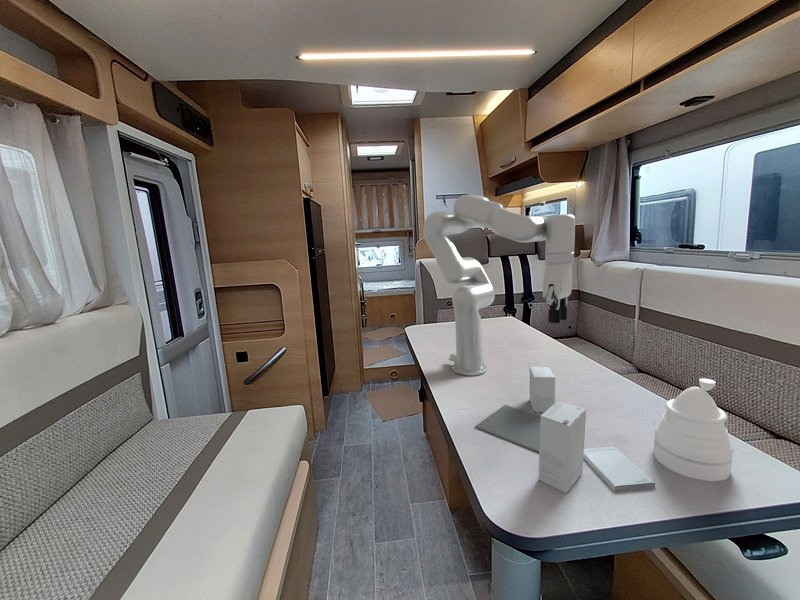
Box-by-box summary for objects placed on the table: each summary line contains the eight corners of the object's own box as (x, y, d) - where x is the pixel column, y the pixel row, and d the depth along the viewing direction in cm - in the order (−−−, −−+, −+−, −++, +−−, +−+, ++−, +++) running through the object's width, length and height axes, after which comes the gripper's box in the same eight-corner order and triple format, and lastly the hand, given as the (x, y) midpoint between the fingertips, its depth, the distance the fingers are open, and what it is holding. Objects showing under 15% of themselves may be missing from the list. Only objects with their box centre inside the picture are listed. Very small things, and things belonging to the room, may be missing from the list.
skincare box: (555, 462, 78) (557, 398, 76) (584, 474, 74) (587, 407, 71) (537, 481, 73) (538, 413, 70) (567, 496, 68) (569, 424, 66)
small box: (554, 413, 99) (555, 377, 97) (533, 412, 100) (533, 376, 98) (549, 400, 106) (549, 366, 105) (529, 399, 108) (529, 366, 106)
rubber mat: (475, 427, 94) (475, 426, 94) (505, 405, 105) (505, 404, 104) (551, 458, 80) (552, 456, 80) (577, 429, 90) (577, 427, 90)
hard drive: (655, 482, 69) (614, 445, 81) (614, 486, 69) (579, 448, 81) (655, 490, 70) (613, 452, 82) (614, 494, 69) (578, 455, 81)
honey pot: (694, 442, 83) (702, 368, 80) (749, 479, 70) (760, 393, 67) (639, 445, 83) (645, 371, 80) (684, 483, 70) (692, 397, 67)
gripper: (557, 256, 111) (556, 314, 114) (533, 261, 100) (532, 325, 103) (583, 256, 106) (581, 317, 109) (561, 261, 94) (559, 329, 98)
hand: (557, 320), depth 106 cm, fingers open, 4 cm apart
